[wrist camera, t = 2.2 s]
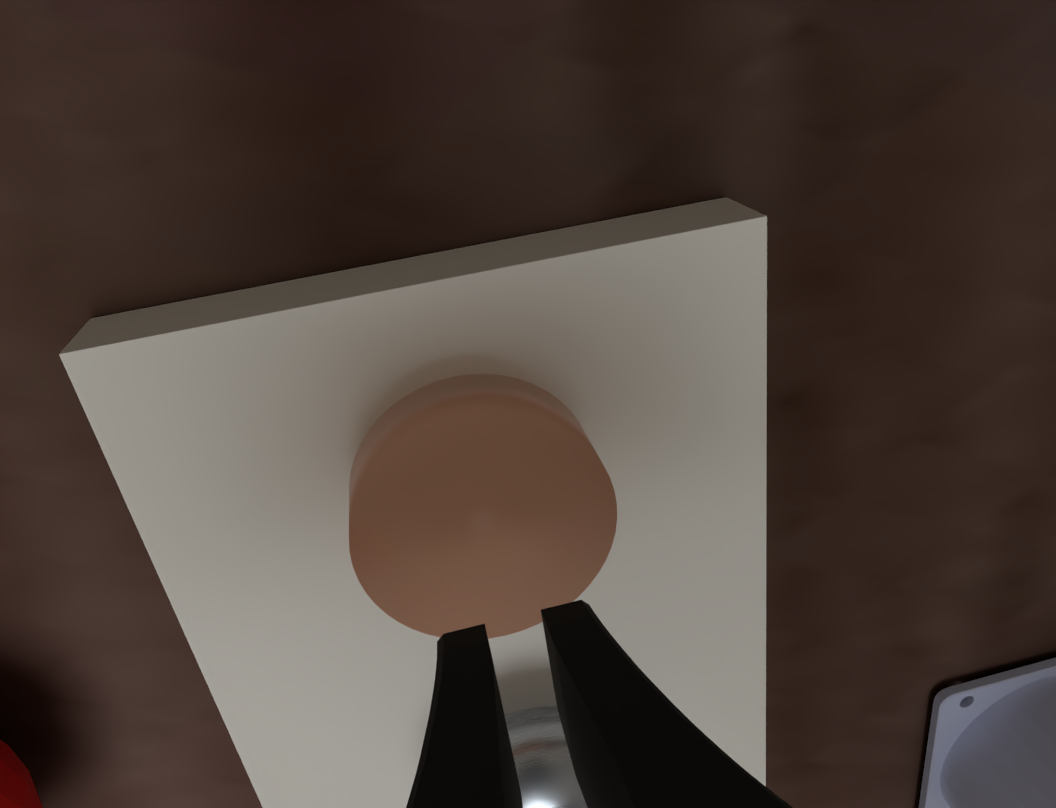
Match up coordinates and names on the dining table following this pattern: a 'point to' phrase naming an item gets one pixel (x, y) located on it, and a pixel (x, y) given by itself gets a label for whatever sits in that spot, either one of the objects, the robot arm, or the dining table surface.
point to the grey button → (543, 759)
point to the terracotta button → (478, 507)
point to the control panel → (371, 389)
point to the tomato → (15, 782)
